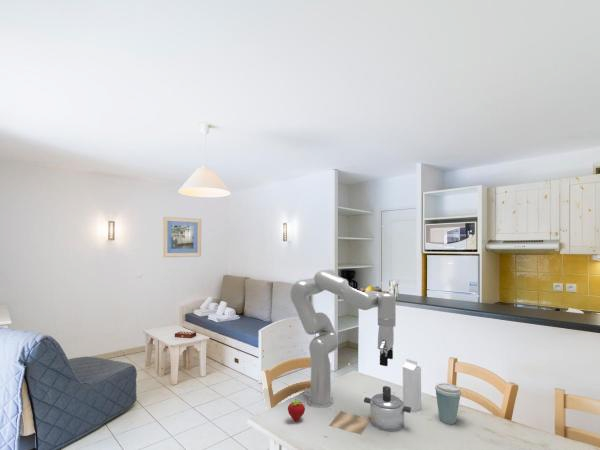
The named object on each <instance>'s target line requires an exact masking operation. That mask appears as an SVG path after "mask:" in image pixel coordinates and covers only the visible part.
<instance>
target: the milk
mask: <svg viewBox="0 0 600 450" xmlns="http://www.w3.org/2000/svg"><path fill="white" fill-rule="evenodd" d="M402 402H403V403H404V406H406V407H411V413H415V412H418V411H419V410H421V409H422V368H421V366H419V365H418V361H415V360H413V359H409V358H406V360H405V363H404V364H403V366H402Z"/></svg>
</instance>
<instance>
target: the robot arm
mask: <svg viewBox="0 0 600 450" xmlns="http://www.w3.org/2000/svg"><path fill="white" fill-rule="evenodd" d="M324 291H327V292H330V293H331V294H333V295H337V296H338V297H340V299H341V300H343V302H345V303H346V304H348V305H350V306H352V307H354V308H357V309H359V310H362V311H368V310H371V309H373V308H374V309H375V308H377V326H378V330H377V331H378V332H377V333H378V334H377V335H378V336H377V349H378V350H380V351H379V365H380V366H383V367H388V364H389V361H388V359H389V360H393V358H394V343H395V342H394V339H395V337H394V336H395V335H394V333H395V332H394V331H395V330H394V327H396V326H397V325H396V324H397V323H396V307H397V306H396V300H397V298H396V295H395V294H394V293H391V292H381V291H378V290H367V291H364V292H363V291H361V290H357V289H356V288H355V287H354V288H353V287H351V286H350V285H349V280H348V279H346V278H343V277H342V276H339V275H338V273H337V272H336V271H335V270H333V269H324V270H319V271H317V272H316V273H315V274H314V277H312V278H305V279H300V280H297V281H296V282H295V283H293V285H292V286H291V290H290V299H291V302H292V305H293V306H294V308H295V310H296V312H297V314H298V318H299V320H300V323H301V325H302V327H303V329H304V331H305V332H306V334H308V335H311V336H312V335H317V334H318V335H317V336H315V337H314V338H312V339H311V340H310V342H309V346H308V349H309V355H310V390H309V389H306V388H305V389H304V391H303V396H306V397H308V398H307V405H309V406H310V407H314V408H318V409H319V408H320V409H322V408H323V409H325V408H329V407H331V406H333V405H334V399H333V398H332V397H331V361H330V357H329V354H331V353H333V352H335V351H336V350H337V349H338V347H339V344H340V343H339V338H338V334H337V332H336V331H335V328H334V326H333V324H332V322H331V319H330V317H329V316H328V315H327V314H326V313H324V312H320V311H318V312H316V309H315V308H314V305H313V303H312V302H311V301H310V300H309V299H308V297H310V296H313V295H314V296H315V295H317V294H320V293H322V292H324Z"/></svg>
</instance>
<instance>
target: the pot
mask: <svg viewBox="0 0 600 450" xmlns="http://www.w3.org/2000/svg"><path fill="white" fill-rule="evenodd" d="M363 403H366V404H369V405H370V408H369V410H370V411H369V412H370V413H369V416H370V417H369V418H370V421H369V422H370V424H371V425H372V427H374V428H376V429H378V430H379V431H383V432H387V433H388V432H389V433H395V432H397V433H398V432H399V431H403V430H404V429H405V413H407V414H411V413H412V411H411V407H406V406H404V403H403V400H401V406H400V407H399V408H396V409H385V408H381V407H378V406H376V405H375V404H374V403H373V397H371V398H370V397H364V399H363Z"/></svg>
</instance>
